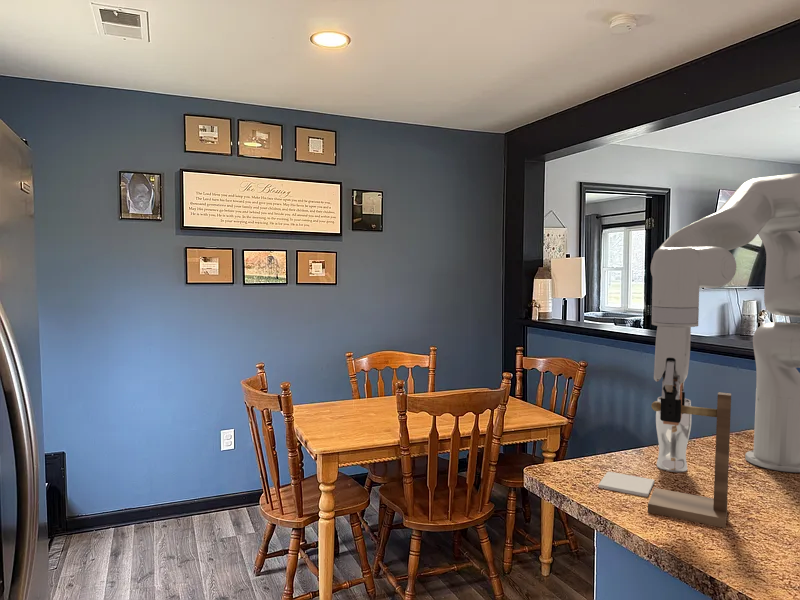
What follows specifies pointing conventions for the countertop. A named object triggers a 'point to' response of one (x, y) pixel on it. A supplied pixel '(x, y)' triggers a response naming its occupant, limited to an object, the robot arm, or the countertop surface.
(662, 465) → the beer glass
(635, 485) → the trivet
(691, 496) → the stand
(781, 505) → the countertop surface
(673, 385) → the link
